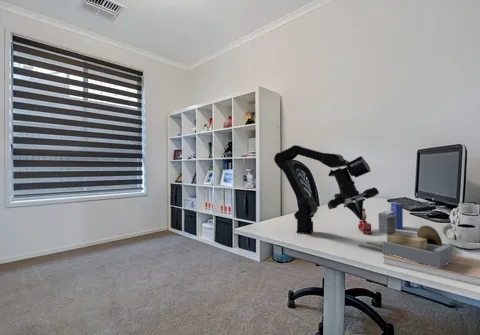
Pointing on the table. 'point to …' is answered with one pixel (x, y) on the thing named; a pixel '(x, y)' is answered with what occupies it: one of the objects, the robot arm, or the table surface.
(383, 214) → the medicine box
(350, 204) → the robot arm
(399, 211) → the walkman
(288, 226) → the table surface
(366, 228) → the toy fire truck
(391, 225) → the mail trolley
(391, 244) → the tray
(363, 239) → the table surface
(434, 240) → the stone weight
